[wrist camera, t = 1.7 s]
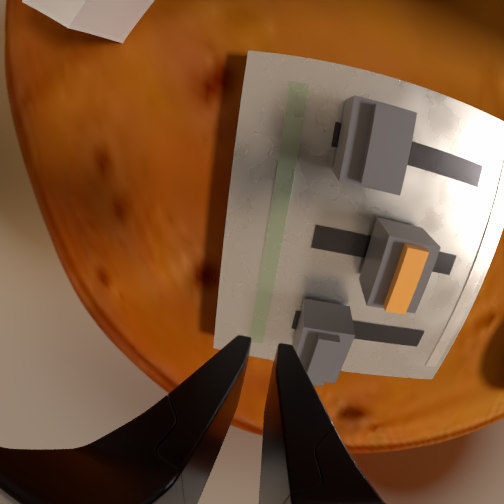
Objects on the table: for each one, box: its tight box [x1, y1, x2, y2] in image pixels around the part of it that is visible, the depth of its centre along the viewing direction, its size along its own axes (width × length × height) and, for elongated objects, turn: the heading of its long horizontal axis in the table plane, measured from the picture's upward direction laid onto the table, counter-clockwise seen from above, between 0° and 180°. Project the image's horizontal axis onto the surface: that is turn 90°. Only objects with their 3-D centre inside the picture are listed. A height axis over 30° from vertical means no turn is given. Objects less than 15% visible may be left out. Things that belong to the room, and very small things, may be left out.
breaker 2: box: [333, 95, 417, 196], centre depth 14 cm, size 3×4×4 cm
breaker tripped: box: [359, 217, 441, 314], centre depth 16 cm, size 3×4×4 cm
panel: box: [213, 51, 504, 379], centre depth 19 cm, size 18×20×2 cm
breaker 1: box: [292, 298, 355, 386], centre depth 19 cm, size 3×4×4 cm
